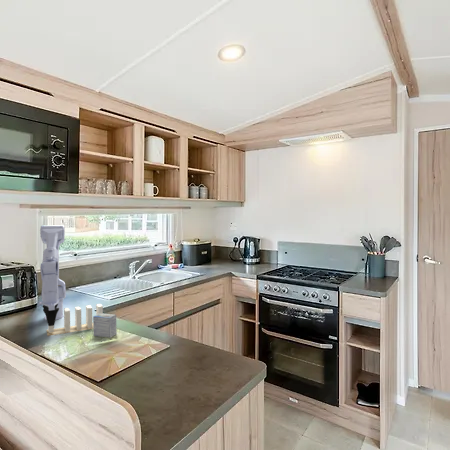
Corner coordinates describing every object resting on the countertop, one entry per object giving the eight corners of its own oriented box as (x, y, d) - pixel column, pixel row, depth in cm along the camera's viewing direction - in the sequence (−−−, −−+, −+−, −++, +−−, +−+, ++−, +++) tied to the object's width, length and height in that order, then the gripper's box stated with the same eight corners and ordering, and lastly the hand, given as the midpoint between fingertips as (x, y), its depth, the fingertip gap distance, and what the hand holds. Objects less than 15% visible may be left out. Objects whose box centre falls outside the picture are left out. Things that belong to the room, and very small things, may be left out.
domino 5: (96, 323, 148) (96, 304, 147) (100, 322, 148) (100, 303, 148) (98, 326, 143) (98, 306, 143) (103, 325, 144) (102, 306, 144)
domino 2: (64, 328, 141) (63, 308, 141) (69, 327, 142) (68, 307, 142) (65, 331, 137) (65, 311, 136) (70, 331, 138) (69, 310, 137)
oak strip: (46, 332, 139) (46, 330, 139) (106, 322, 151) (106, 320, 151) (47, 338, 132) (47, 336, 132) (110, 327, 144) (110, 325, 144)
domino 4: (86, 324, 145) (85, 305, 145) (90, 324, 146) (90, 305, 146) (87, 328, 141) (87, 308, 141) (92, 327, 142) (92, 307, 142)
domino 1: (48, 329, 138) (47, 308, 138) (53, 328, 139) (52, 308, 139) (48, 333, 134) (48, 312, 133) (53, 332, 134) (53, 311, 134)
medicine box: (117, 335, 135) (116, 314, 134) (110, 339, 130) (110, 317, 130) (100, 333, 137) (99, 312, 137) (93, 337, 133) (92, 316, 132)
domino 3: (75, 326, 143) (75, 307, 143) (79, 325, 144) (79, 306, 144) (76, 330, 139) (76, 309, 139) (81, 329, 140) (81, 309, 140)
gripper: (38, 288, 140) (39, 320, 140) (39, 295, 127) (40, 330, 128) (57, 286, 144) (57, 317, 144) (60, 293, 131) (60, 327, 131)
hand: (50, 323), depth 136 cm, fingers closed on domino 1, 5 cm apart
